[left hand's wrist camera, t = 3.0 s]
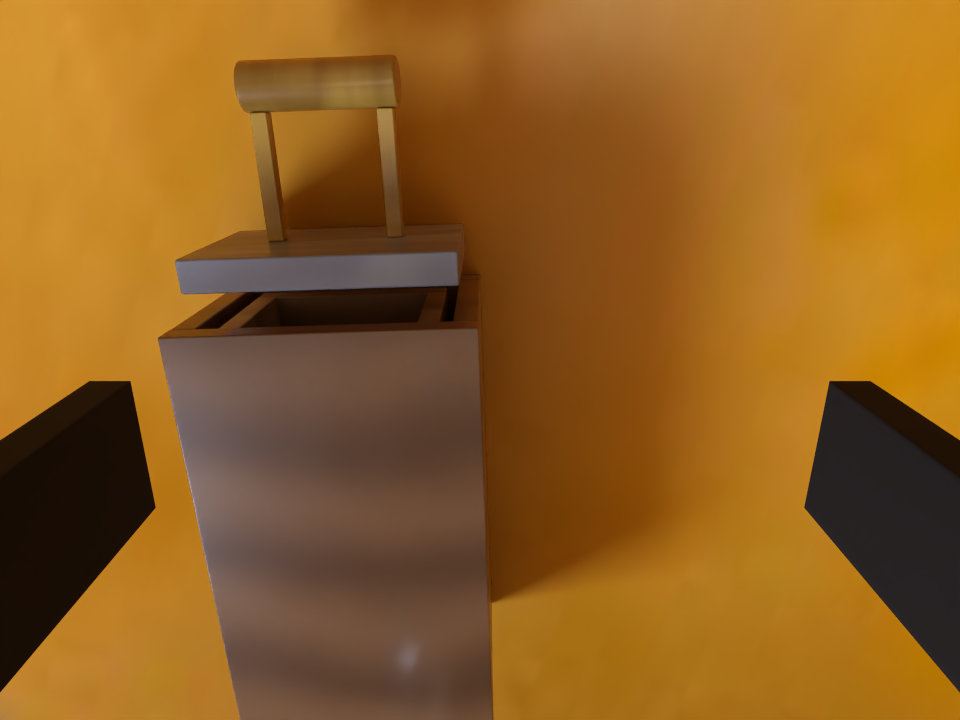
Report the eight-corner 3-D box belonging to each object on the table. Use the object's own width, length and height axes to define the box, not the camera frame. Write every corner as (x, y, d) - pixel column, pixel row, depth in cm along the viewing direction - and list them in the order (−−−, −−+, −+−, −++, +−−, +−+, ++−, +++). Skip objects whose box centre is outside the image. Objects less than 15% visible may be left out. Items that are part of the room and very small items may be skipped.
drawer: (212, 68, 25) (132, 53, 19) (456, 59, 25) (448, 41, 19) (292, 565, 33) (252, 657, 27) (478, 560, 33) (476, 652, 27)
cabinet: (241, 281, 29) (157, 338, 22) (480, 274, 29) (478, 327, 21) (295, 609, 35) (244, 740, 28) (491, 604, 35) (493, 735, 28)
